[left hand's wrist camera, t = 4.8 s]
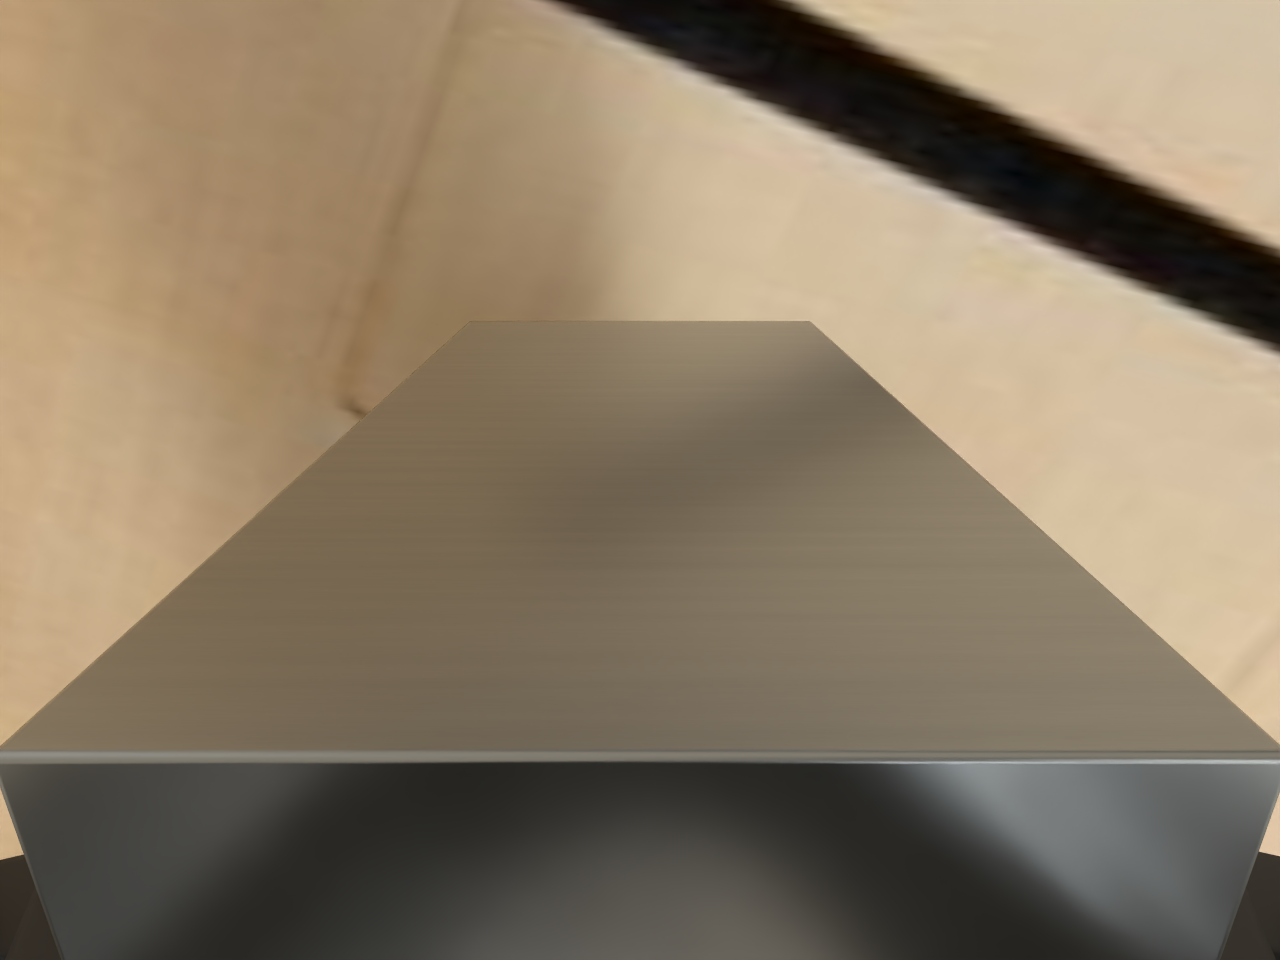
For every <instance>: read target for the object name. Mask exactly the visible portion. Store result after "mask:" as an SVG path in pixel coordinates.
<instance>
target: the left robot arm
mask: <svg viewBox="0 0 1280 960" xmlns="http://www.w3.org/2000/svg"><path fill="white" fill-rule="evenodd" d="M0 960H61V957H60V954H59V952H58V949H57V946H56V943H55V940H54V937H53V935H52V932H51V929H50V926H49V923H48V921H47V918H46V915H45V912H44V909H43V906H42V904H41V901H40V898H39V895H38V892H37V890H36V887H35V884H34V881H33V878H32V875H31V873H30V870H29V867H28V864H27V861H26V859H25V856H24V855H20V856H16V857H11V858H7V859H3V860H0ZM1220 960H1280V856H1275V855H1271V854H1267V853H1262V852H1258V854H1257V857H1256V860H1255V863H1254V866H1253V868H1252V871H1251V874H1250V877H1249V880H1248V882H1247V885H1246V888H1245V891H1244V894H1243V897H1242V899H1241V902H1240V905H1239V908H1238V911H1237V913H1236V916H1235V919H1234V922H1233V925H1232V927H1231V930H1230V933H1229V936H1228V939H1227V942H1226V944H1225V947H1224V950H1223V953H1222V956H1221V958H1220Z"/></svg>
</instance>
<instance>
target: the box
mask: <svg viewBox="0 0 1280 960" xmlns="http://www.w3.org/2000/svg"><path fill="white" fill-rule="evenodd" d="M0 788H1V791H2V794H3V796H4V799H5V802H6V805H7V808H8V811H9V813H10V816H11V819H12V822H13V825H14V828H15V830H16V833H17V836H18V839H19V842H20V844H21V847H22V850H23V853H24V856H25V859H26V861H27V864H28V867H29V870H30V873H31V875H32V878H33V881H34V884H35V887H36V890H37V892H38V895H39V898H40V901H41V904H42V906H43V909H44V912H45V915H46V918H47V921H48V923H49V926H50V929H51V932H52V935H53V937H54V940H55V943H56V946H57V949H58V952H59V954H60V957H61V960H1220V958H1221V956H1222V953H1223V950H1224V947H1225V944H1226V942H1227V939H1228V936H1229V933H1230V930H1231V927H1232V925H1233V922H1234V919H1235V916H1236V913H1237V911H1238V908H1239V905H1240V902H1241V899H1242V897H1243V894H1244V891H1245V888H1246V885H1247V882H1248V880H1249V877H1250V874H1251V871H1252V868H1253V866H1254V863H1255V860H1256V857H1257V854H1258V852H1259V849H1260V846H1261V843H1262V840H1263V837H1264V835H1265V832H1266V829H1267V826H1268V823H1269V821H1270V818H1271V815H1272V812H1273V809H1274V807H1275V804H1276V801H1277V798H1278V795H1279V792H1280V745H1279V744H1278V743H1277V742H1276V741H1275V740H1274V739H1273V738H1272V737H1271V736H1269V735H1268V734H1267V733H1266V732H1265V731H1264V730H1263V729H1262V728H1261V727H1259V726H1258V725H1257V724H1256V723H1255V722H1254V721H1253V720H1252V719H1251V718H1249V717H1248V716H1247V715H1246V714H1245V713H1244V712H1243V711H1242V710H1241V709H1240V708H1238V707H1237V706H1236V705H1235V704H1234V703H1233V702H1232V701H1231V700H1230V699H1228V698H1227V697H1226V696H1225V695H1224V694H1223V693H1222V692H1221V691H1220V690H1218V689H1217V688H1216V687H1215V686H1214V685H1213V684H1212V683H1211V682H1210V681H1208V680H1207V679H1206V678H1205V677H1204V676H1203V675H1202V674H1201V673H1200V672H1198V671H1197V670H1196V669H1195V668H1194V667H1193V666H1192V665H1191V664H1190V663H1189V662H1187V661H1186V660H1185V659H1184V658H1183V657H1182V656H1181V655H1180V654H1179V653H1177V652H1176V651H1175V650H1174V649H1173V648H1172V647H1171V646H1170V645H1169V644H1167V643H1166V642H1165V641H1164V640H1163V639H1162V638H1161V637H1160V636H1159V635H1157V634H1156V633H1155V632H1154V631H1153V630H1152V629H1151V628H1150V627H1149V626H1147V625H1146V624H1145V623H1144V622H1143V621H1142V620H1141V619H1140V618H1139V617H1138V616H1136V615H1135V614H1134V613H1133V612H1132V611H1131V610H1130V609H1129V608H1128V607H1126V606H1125V605H1124V604H1123V603H1122V602H1121V601H1120V600H1119V599H1118V598H1116V597H1115V596H1114V595H1113V594H1112V593H1111V592H1110V591H1109V590H1108V589H1106V588H1105V587H1104V586H1103V585H1102V584H1101V583H1100V582H1099V581H1098V580H1096V579H1095V578H1094V577H1093V576H1092V575H1091V574H1090V573H1089V572H1088V571H1087V570H1085V569H1084V568H1083V567H1082V566H1081V565H1080V564H1079V563H1078V562H1077V561H1075V560H1074V559H1073V558H1072V557H1071V556H1070V555H1069V554H1068V553H1067V552H1065V551H1064V550H1063V549H1062V548H1061V547H1060V546H1059V545H1058V544H1057V543H1055V542H1054V541H1053V540H1052V539H1051V538H1050V537H1049V536H1048V535H1047V534H1045V533H1044V532H1043V531H1042V530H1041V529H1040V528H1039V527H1038V526H1037V525H1036V524H1034V523H1033V522H1032V521H1031V520H1030V519H1029V518H1028V517H1027V516H1026V515H1024V514H1023V513H1022V512H1021V511H1020V510H1019V509H1018V508H1017V507H1016V506H1014V505H1013V504H1012V503H1011V502H1010V501H1009V500H1008V499H1007V498H1006V497H1004V496H1003V495H1002V494H1001V493H1000V492H999V491H998V490H997V489H996V488H994V487H993V486H992V485H991V484H990V483H989V482H988V481H987V480H986V479H985V478H983V477H982V476H981V475H980V474H979V473H978V472H977V471H976V470H975V469H973V468H972V467H971V466H970V465H969V464H968V463H967V462H966V461H965V460H963V459H962V458H961V457H960V456H959V455H958V454H957V453H956V452H955V451H953V450H952V449H951V448H950V447H949V446H948V445H947V444H946V443H945V442H943V441H942V440H941V439H940V438H939V437H938V436H937V435H936V434H935V433H934V432H932V431H931V430H930V429H929V428H928V427H927V426H926V425H925V424H924V423H922V422H921V421H920V420H919V419H918V418H917V417H916V416H915V415H914V414H912V413H911V412H910V411H909V410H908V409H907V408H906V407H905V406H904V405H902V404H901V403H900V402H899V401H898V400H897V399H896V398H895V397H894V396H892V395H891V394H890V393H889V392H888V391H887V390H886V389H885V388H884V387H883V386H881V385H880V384H879V383H878V382H877V381H876V380H875V379H874V378H873V377H871V376H870V375H869V374H868V373H867V372H866V371H865V370H864V369H863V368H861V367H860V366H859V365H858V364H857V363H856V362H855V361H854V360H853V359H851V358H850V357H849V356H848V355H847V354H846V353H845V352H844V351H843V350H841V349H840V348H839V347H838V346H837V345H836V344H835V343H834V342H833V341H832V340H830V339H829V338H828V337H827V336H826V335H825V334H824V333H823V332H822V331H820V330H819V329H818V328H817V327H816V326H815V325H814V324H813V323H812V322H810V321H471V322H469V323H468V324H467V325H466V326H464V327H463V328H462V329H461V330H460V331H459V332H458V333H457V334H456V335H454V336H453V337H452V338H451V339H450V340H449V341H448V342H447V343H446V344H444V345H443V346H442V347H441V348H440V349H439V350H438V351H437V352H436V353H435V354H433V355H432V356H431V357H430V358H429V359H428V360H427V361H426V362H425V363H423V364H422V365H421V366H420V367H419V368H418V369H417V370H416V371H415V372H414V373H412V374H411V375H410V376H409V377H408V378H407V379H406V380H405V381H404V382H402V383H401V384H400V385H399V386H398V387H397V388H396V389H395V390H394V391H393V392H391V393H390V394H389V395H388V396H387V397H386V398H385V399H384V400H383V401H381V402H380V403H379V404H378V405H377V406H376V407H375V408H374V409H373V410H372V411H370V412H369V413H368V414H367V415H366V416H365V417H364V418H363V419H362V420H360V421H359V422H358V423H357V424H356V425H355V426H354V427H353V428H352V429H351V430H349V431H348V432H347V433H346V434H345V435H344V436H343V437H342V438H341V439H339V440H338V441H337V442H336V443H335V444H334V445H333V446H332V447H331V448H329V449H328V450H327V451H326V452H325V453H324V454H323V455H322V456H321V457H320V458H318V459H317V460H316V461H315V462H314V463H313V464H312V465H311V466H310V467H308V468H307V469H306V470H305V471H304V472H303V473H302V474H301V475H300V476H299V477H297V478H296V479H295V480H294V481H293V482H292V483H291V484H290V485H289V486H287V487H286V488H285V489H284V490H283V491H282V492H281V493H280V494H279V495H278V496H276V497H275V498H274V499H273V500H272V501H271V502H270V503H269V504H268V505H266V506H265V507H264V508H263V509H262V510H261V511H260V512H259V513H258V514H257V515H255V516H254V517H253V518H252V519H251V520H250V521H249V522H248V523H247V524H245V525H244V526H243V527H242V528H241V529H240V530H239V531H238V532H237V533H236V534H234V535H233V536H232V537H231V538H230V539H229V540H228V541H227V542H226V543H224V544H223V545H222V546H221V547H220V548H219V549H218V550H217V551H216V552H215V553H213V554H212V555H211V556H210V557H209V558H208V559H207V560H206V561H205V562H203V563H202V564H201V565H200V566H199V567H198V568H197V569H196V570H195V571H193V572H192V573H191V574H190V575H189V576H188V577H187V578H186V579H185V580H184V581H182V582H181V583H180V584H179V585H178V586H177V587H176V588H175V589H174V590H172V591H171V592H170V593H169V594H168V595H167V596H166V597H165V598H164V599H163V600H161V601H160V602H159V603H158V604H157V605H156V606H155V607H154V608H153V609H151V610H150V611H149V612H148V613H147V614H146V615H145V616H144V617H143V618H142V619H140V620H139V621H138V622H137V623H136V624H135V625H134V626H133V627H132V628H130V629H129V630H128V631H127V632H126V633H125V634H124V635H123V636H122V637H121V638H119V639H118V640H117V641H116V642H115V643H114V644H113V645H112V646H111V647H109V648H108V649H107V650H106V651H105V652H104V653H103V654H102V655H101V656H100V657H98V658H97V659H96V660H95V661H94V662H93V663H92V664H91V665H90V666H88V667H87V668H86V669H85V670H84V671H83V672H82V673H81V674H80V675H78V676H77V677H76V678H75V679H74V680H73V681H72V682H71V683H70V684H69V685H67V686H66V687H65V688H64V689H63V690H62V691H61V692H60V693H59V694H57V695H56V696H55V697H54V698H53V699H52V700H51V701H50V702H49V703H48V704H46V705H45V706H44V707H43V708H42V709H41V710H40V711H39V712H38V713H36V714H35V715H34V716H33V717H32V718H31V719H30V720H29V721H28V722H27V723H25V724H24V725H23V726H22V727H21V728H20V729H19V730H18V731H17V732H15V733H14V734H13V735H12V736H11V737H10V738H9V739H8V740H7V741H6V742H4V743H3V744H2V745H1V746H0Z"/></svg>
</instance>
